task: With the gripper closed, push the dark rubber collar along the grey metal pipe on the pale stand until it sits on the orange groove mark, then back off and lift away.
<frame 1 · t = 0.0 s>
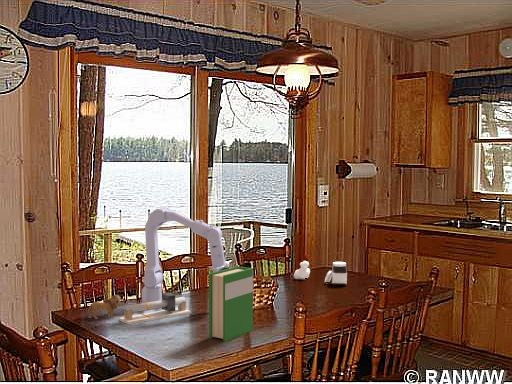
hand: (222, 286, 262), 11 cm above the table, tool pointing down, fingers open, 7 cm apart
lion figurine: (104, 317, 250), on the table
duck figurine: (302, 279, 333), on the table
pipe stand: (155, 316, 252), on the table
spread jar: (335, 284, 319), on the table
collar: (168, 302, 255), point 5 cm above the table, slide at 0.0 cm
hardback book: (231, 334, 227), on the table
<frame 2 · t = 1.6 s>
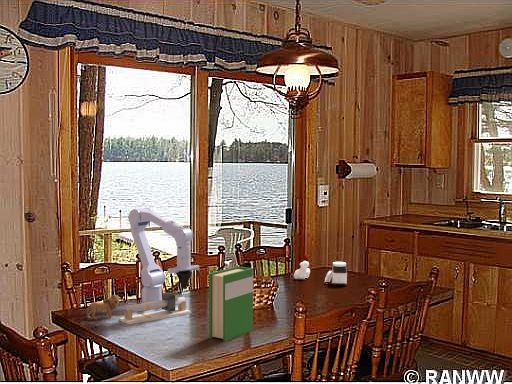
hand: (183, 288, 259), 10 cm above the table, tool pointing down, fingers closed
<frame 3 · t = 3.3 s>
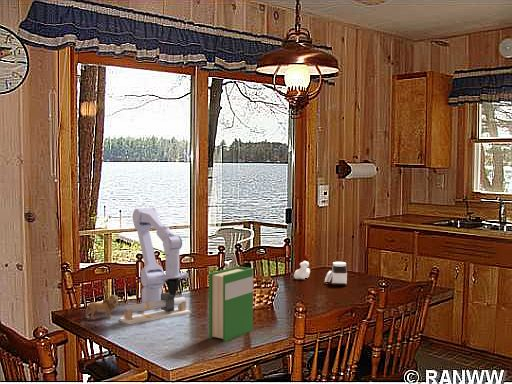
hand: (172, 296, 256), 7 cm above the table, tool pointing down, fingers closed
collar: (167, 302, 255), point 5 cm above the table, slide at 0.6 cm, touching gripper
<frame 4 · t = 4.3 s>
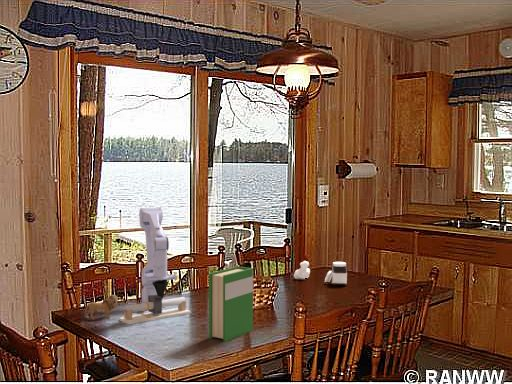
hand: (160, 298, 252), 7 cm above the table, tool pointing down, fingers closed
collar: (155, 304, 251), point 5 cm above the table, slide at 6.4 cm, touching gripper
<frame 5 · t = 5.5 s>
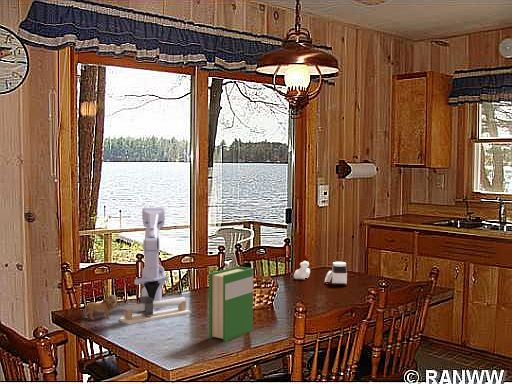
hand: (151, 299, 250), 7 cm above the table, tool pointing down, fingers closed
collar: (146, 305, 249), point 5 cm above the table, slide at 10.5 cm, touching gripper
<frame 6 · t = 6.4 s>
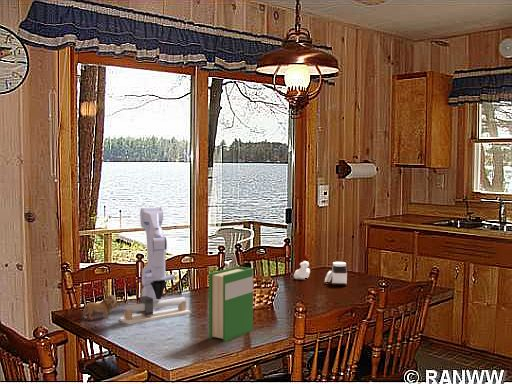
hand: (158, 298, 252), 7 cm above the table, tool pointing down, fingers closed
collar: (146, 305, 249), point 5 cm above the table, slide at 10.5 cm
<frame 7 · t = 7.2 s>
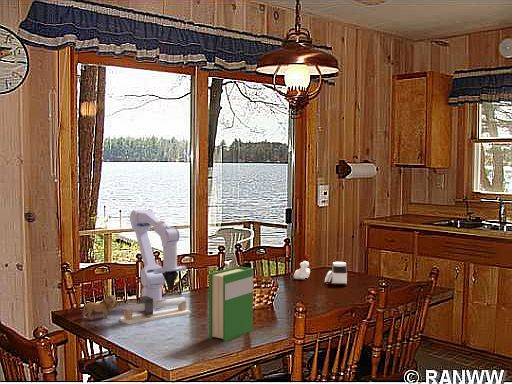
hand: (170, 289, 257), 10 cm above the table, tool pointing down, fingers closed
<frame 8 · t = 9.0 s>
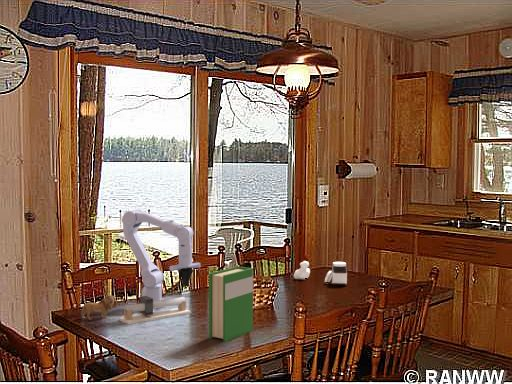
hand: (185, 285, 264), 10 cm above the table, tool pointing down, fingers closed
at the end: collar slide at 10.5 cm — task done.
